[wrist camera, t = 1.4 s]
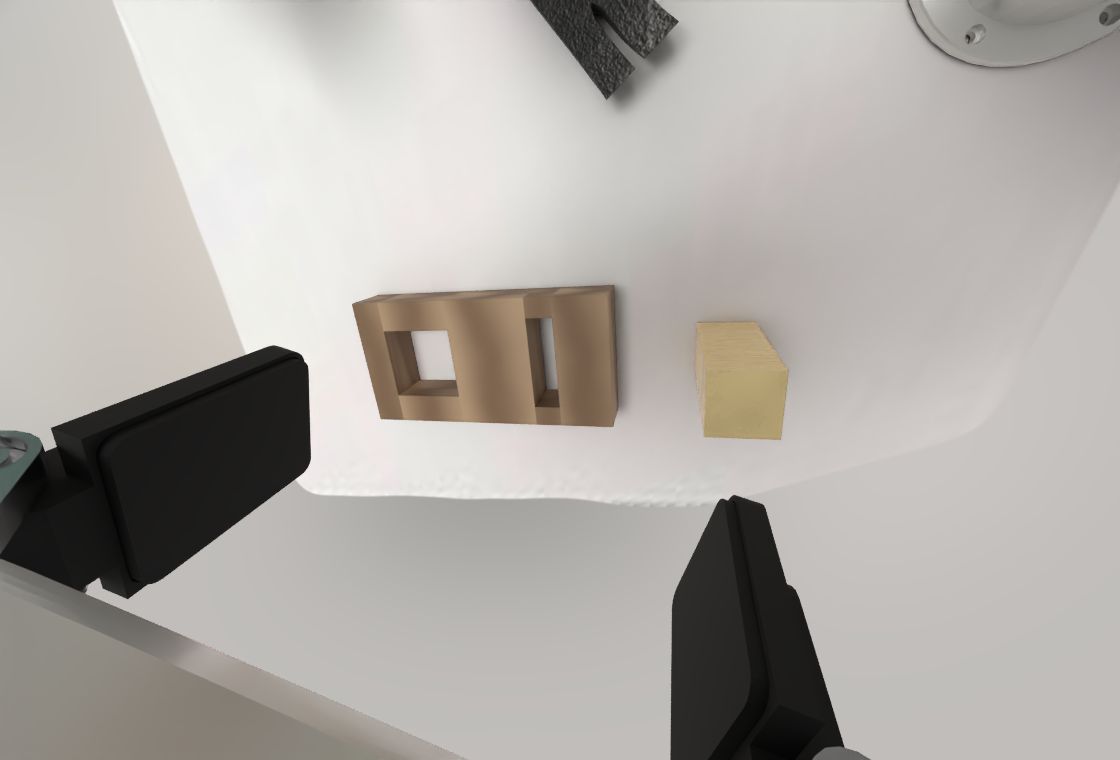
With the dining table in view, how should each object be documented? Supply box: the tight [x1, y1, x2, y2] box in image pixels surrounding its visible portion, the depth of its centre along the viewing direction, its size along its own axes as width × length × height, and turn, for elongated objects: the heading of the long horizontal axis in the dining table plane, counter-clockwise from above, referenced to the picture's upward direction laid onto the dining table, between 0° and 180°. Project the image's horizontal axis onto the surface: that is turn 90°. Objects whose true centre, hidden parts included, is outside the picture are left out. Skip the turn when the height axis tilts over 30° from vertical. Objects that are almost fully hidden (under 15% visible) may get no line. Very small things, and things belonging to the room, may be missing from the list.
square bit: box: [695, 322, 789, 440], centre depth 28 cm, size 4×4×10 cm
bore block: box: [352, 285, 618, 427], centre depth 36 cm, size 20×10×4 cm, turn 94°
